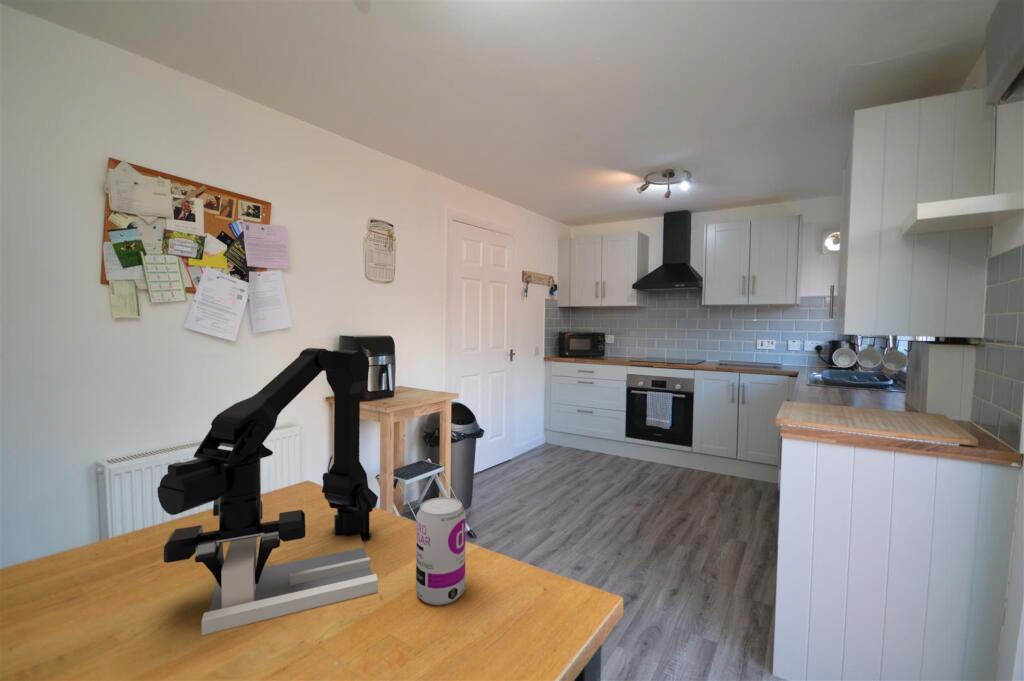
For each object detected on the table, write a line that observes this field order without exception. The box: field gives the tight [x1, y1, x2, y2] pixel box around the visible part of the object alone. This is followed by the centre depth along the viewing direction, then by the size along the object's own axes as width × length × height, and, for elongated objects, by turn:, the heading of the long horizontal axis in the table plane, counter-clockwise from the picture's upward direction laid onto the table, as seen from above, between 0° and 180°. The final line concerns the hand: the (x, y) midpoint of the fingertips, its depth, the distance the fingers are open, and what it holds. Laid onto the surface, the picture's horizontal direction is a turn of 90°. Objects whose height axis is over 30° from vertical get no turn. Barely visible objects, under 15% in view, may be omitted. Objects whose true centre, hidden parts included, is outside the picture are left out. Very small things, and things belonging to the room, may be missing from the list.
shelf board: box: [201, 547, 379, 636], centre depth 75 cm, size 24×16×4 cm, turn 116°
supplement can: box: [415, 496, 467, 606], centre depth 75 cm, size 8×8×15 cm
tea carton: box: [221, 537, 259, 609], centre depth 71 cm, size 4×10×7 cm, turn 26°
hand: (240, 586), depth 71 cm, fingers closed on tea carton, 4 cm apart
